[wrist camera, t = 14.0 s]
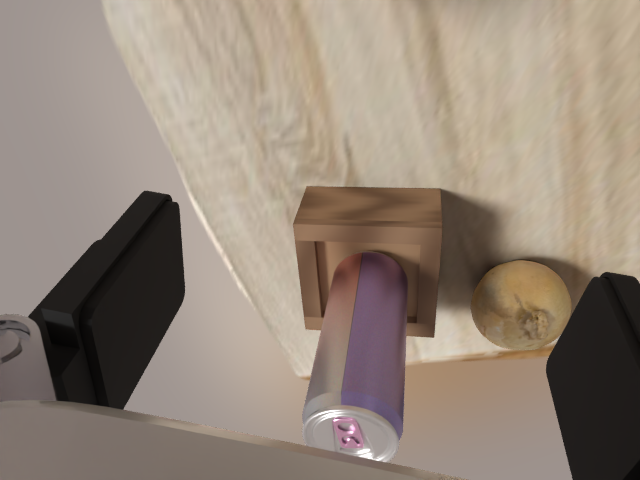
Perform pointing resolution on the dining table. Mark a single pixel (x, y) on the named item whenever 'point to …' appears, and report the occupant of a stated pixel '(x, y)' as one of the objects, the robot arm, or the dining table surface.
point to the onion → (521, 305)
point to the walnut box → (370, 244)
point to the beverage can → (360, 361)
